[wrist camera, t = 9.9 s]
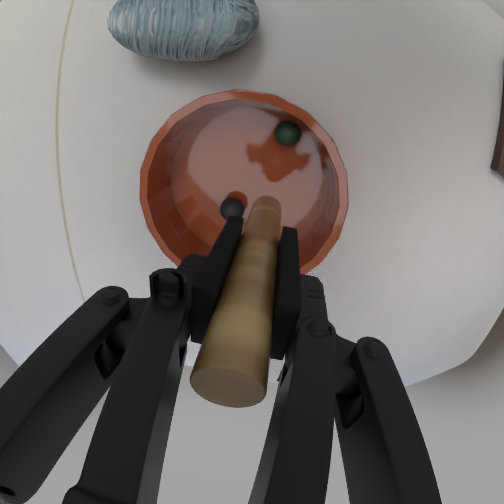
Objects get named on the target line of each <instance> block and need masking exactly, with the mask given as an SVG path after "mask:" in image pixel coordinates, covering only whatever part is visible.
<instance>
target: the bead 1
mask: <svg viewBox="0 0 504 504" xmlns="http://www.w3.org/2000/svg"><path fill="white" fill-rule="evenodd" d="M244 210H245V208H244V204H243V203H242V201H241V200H240V199H238V198H236V197H229V198H227V199H225V200H224V201H223V202H222V203H221V206H220V213H221V215H222V217H223V218H224V219H225V220H228V218H229V216H236V217H242V216H243V214H244Z"/></svg>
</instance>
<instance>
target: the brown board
mask: <svg viewBox="0 0 504 504" xmlns="http://www.w3.org/2000/svg"><path fill="white" fill-rule="evenodd" d="M491 169H492V170H494V171H495V172H497V173H498V174H500V175H501V176H503V177H504V82H503V98H502V108H501V116H500V124H499V130H498V136H497V141H496V147H495V151H494V156H493V160H492V165H491Z"/></svg>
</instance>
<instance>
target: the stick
mask: <svg viewBox="0 0 504 504" xmlns="http://www.w3.org/2000/svg"><path fill="white" fill-rule="evenodd" d="M281 216H282V207H281V204H280V202H279V201H278V200H277V199H276V198H274V197H272V196H268V195H265V196H261V197H259V198H257V199H256V200H255V202H254V203H253V206H252V208H251V211H250V214H249V216H248V219H247V222H246V224H245V227H244V230H243V232H242V235H241V238H240V240H239V243H238V246H237V248H236V251H235V254H234V256H233V259H232V262H231V265H230V267H229V270H228V273H227V275H226V278H225V281H224V284H223V286H222V289H221V292H220V295H219V297H218V300H217V303H216V306H215V308H214V311H213V314H212V316H211V319H210V322H209V325H208V327H207V330H206V333H205V336H204V339H203V341H202V344H201V347H200V350H199V353H198V356H197V358H196V361H195V364H194V367H193V370H192V373H191V376H190V384H191V386H192V388H193V389H194V391H195V392H196V393H197V394H199V395H200V396H201V397H203V398H204V399H206V400H208V401H210V402H212V403H215V404H219V405H222V406H226V407H235V408H239V407H240V408H242V407H249V406H253V405H256V404H258V403H260V402H261V401H262V400H263V399H264V397H265V396H266V390H267V382H268V373H269V363H270V353H271V343H272V333H273V316H274V305H275V293H276V281H277V269H278V256H279V243H280V232H281Z"/></svg>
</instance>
